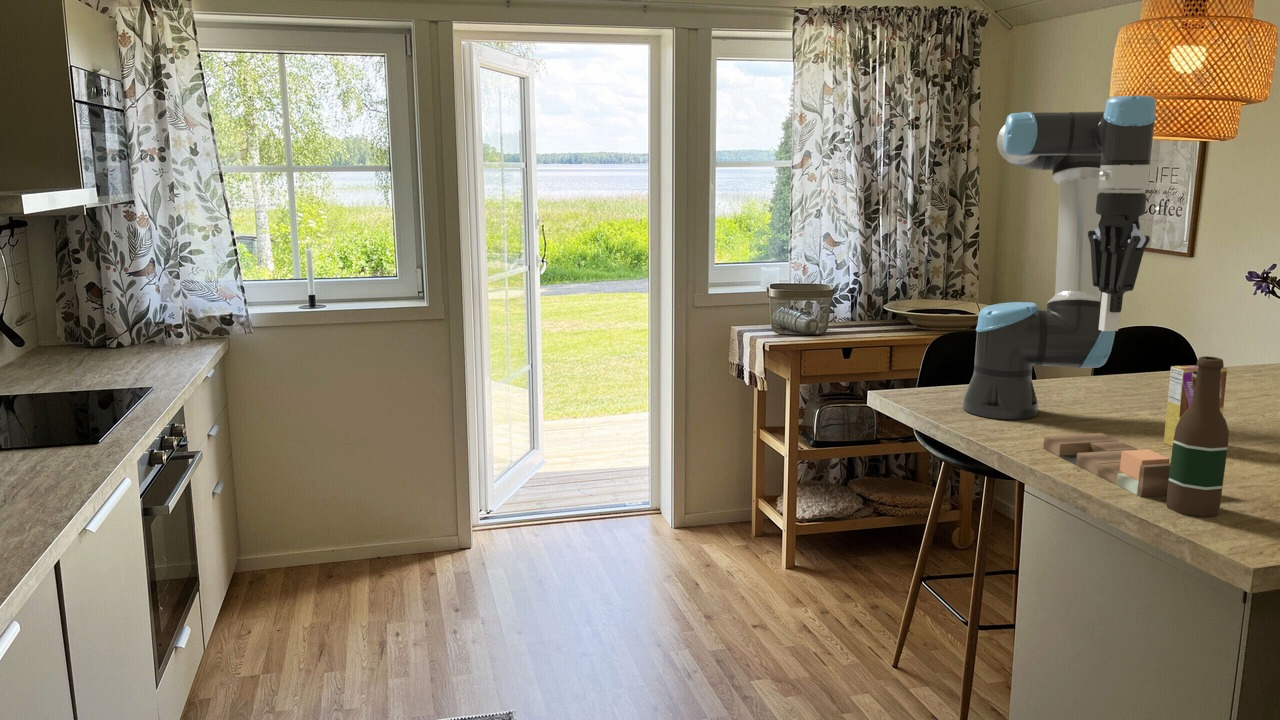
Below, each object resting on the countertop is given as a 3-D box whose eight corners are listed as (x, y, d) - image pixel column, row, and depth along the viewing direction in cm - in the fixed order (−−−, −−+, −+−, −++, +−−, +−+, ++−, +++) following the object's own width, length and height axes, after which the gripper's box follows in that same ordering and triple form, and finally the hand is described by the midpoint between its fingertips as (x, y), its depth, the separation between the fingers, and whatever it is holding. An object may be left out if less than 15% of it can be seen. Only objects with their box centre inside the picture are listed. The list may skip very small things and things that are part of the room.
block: (1119, 470, 163) (1121, 450, 162) (1145, 468, 164) (1148, 449, 163) (1139, 480, 158) (1142, 460, 158) (1166, 479, 159) (1169, 458, 159)
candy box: (1205, 441, 188) (1214, 363, 185) (1220, 447, 184) (1230, 368, 180) (1161, 442, 187) (1170, 364, 184) (1175, 449, 183) (1185, 369, 180)
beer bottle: (1174, 516, 148) (1192, 362, 143) (1156, 499, 156) (1173, 352, 151) (1229, 519, 147) (1250, 364, 142) (1209, 502, 154) (1228, 353, 150)
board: (1043, 448, 183) (1045, 423, 182) (1100, 445, 185) (1103, 419, 184) (1141, 496, 157) (1144, 467, 156) (1206, 492, 159) (1210, 462, 158)
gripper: (1077, 190, 169) (1065, 324, 173) (1128, 192, 156) (1113, 337, 161) (1116, 190, 170) (1103, 323, 175) (1169, 192, 157) (1153, 336, 162)
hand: (1108, 330), depth 168 cm, fingers closed
